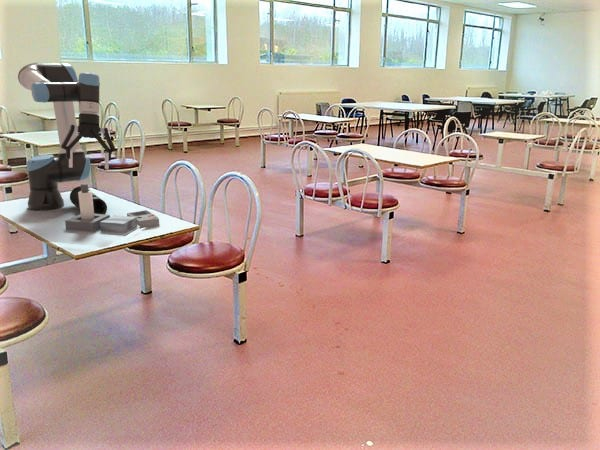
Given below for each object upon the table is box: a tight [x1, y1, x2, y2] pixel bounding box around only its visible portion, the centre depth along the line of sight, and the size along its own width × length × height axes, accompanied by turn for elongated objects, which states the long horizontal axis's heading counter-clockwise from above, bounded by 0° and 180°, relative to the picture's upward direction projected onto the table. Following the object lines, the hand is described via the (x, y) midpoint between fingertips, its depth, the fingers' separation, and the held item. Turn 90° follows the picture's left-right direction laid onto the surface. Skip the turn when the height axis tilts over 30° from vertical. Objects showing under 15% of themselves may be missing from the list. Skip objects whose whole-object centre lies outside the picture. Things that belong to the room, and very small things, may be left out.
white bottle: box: [78, 183, 95, 221], centre depth 206 cm, size 5×5×17 cm
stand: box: [100, 214, 138, 237], centre depth 206 cm, size 10×10×5 cm
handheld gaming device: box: [126, 209, 160, 229], centre depth 219 cm, size 9×15×4 cm, turn 37°
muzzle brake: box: [69, 185, 108, 215], centre depth 230 cm, size 10×28×10 cm, turn 36°
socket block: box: [64, 213, 111, 233], centre depth 208 cm, size 12×12×5 cm
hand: (89, 168), depth 205 cm, fingers open, 13 cm apart
